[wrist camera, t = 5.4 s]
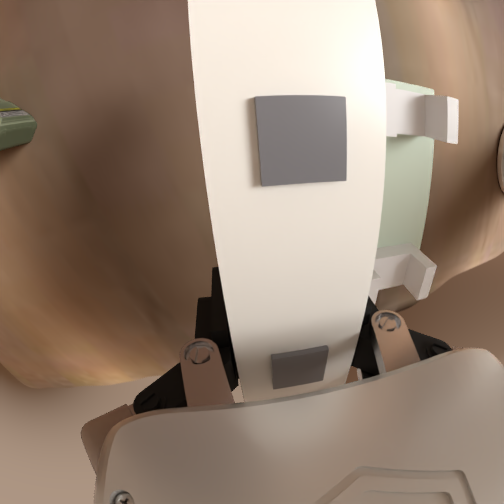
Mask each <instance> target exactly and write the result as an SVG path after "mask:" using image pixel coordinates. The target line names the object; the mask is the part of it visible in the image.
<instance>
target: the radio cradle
mask: <svg viewBox="0 0 504 504" xmlns="http://www.w3.org/2000/svg"><path fill="white" fill-rule="evenodd" d="M385 89H386V162H385V179H384V192H383V203H382V213H381V222H380V230H379V237H378V244H377V251H376V257H375V263H374V269H373V275H372V280H371V285H370V290H369V297H370V298H371V300H372V301H373V303H374V304H375V303H376V299H377V294H378V290H381V289H386V288H390V287H395V286H399V285H404V286H405V287H406V288H407V289H408V291H409V292H410V293H411V294H412V295H413V296H414V297H415V299H416V300H421V299H424V298H427V297H428V294H429V291H430V288H431V284H432V281H433V278H434V275H435V271H436V268H437V265H436V264H435V263H434V262H432V261H431V260H430V259H429V258H428V257H427V256H426V255H424V254H423V253H422V252H421V251H420V246H421V241H422V236H423V231H424V226H425V220H426V214H427V208H428V201H429V194H430V185H431V176H432V166H433V152H434V139H436V140H440V141H443V142H447V143H453V144H458V99H455V98H451V97H448V96H438V95H434V90H433V89H429V88H425V87H421V86H417V85H412V84H408V83H403V82H398V81H393V80H388V79H385Z"/></svg>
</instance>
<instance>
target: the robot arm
mask: <svg viewBox="0 0 504 504" xmlns="http://www.w3.org/2000/svg"><path fill="white" fill-rule="evenodd" d="M497 170H498V179H499V183H500V187H501V189H502V191H503V193H504V130H503V132H502V135H501V139H500V143H499V148H498V158H497ZM351 366H354V367H356V368H357V373H358V379H359V381H355V382H352V383H348V384H344V385H340V386H336V387H331V388H327V389H322V390H318V391H313V392H308V393H303V394H297V395H292V396H286V397H280V398H273V399H266V400H259V401H251V402H243V403H235V402H234V399H233V396H232V393H231V392H232V391H233V390H234V389H235V388H236V387H237V386H238V379H239V374H238V369H237V364H236V359H235V354H234V349H233V344H232V339H231V334H230V328H229V323H228V318H227V312H226V307H225V301H224V296H223V290H222V284H221V278H220V272H219V267H214V268H212V294H211V297H204V298H199V299H198V305H197V317H196V329H195V339H194V340H191V341H189V342H187V343H186V344H185V345H184V346H183V347H182V348H181V350H180V363H178V364H177V365H176V366H174V367H173V368H172V369H170V370H169V371H168V372H167V373H165V374H164V375H163V376H161V377H160V378H159V379H157V380H156V381H155V382H153V383H152V384H151V385H150V386H148V387H147V388H145V389H144V390H143V391H142V392H140V393H139V394H138V395H137V396H136V398H135V400H134V403H133V404H131V405H129V406H128V405H127V404H125V405H123V406H121V407H119V408H117V409H114V410H113V411H110V412H108V413H106V414H104V415H102V416H99V417H97V418H95V419H93V420H91V421H89V422H87V423H86V424H85V425H84V426H83V427H82V430H81V438H82V441H83V444H84V447H85V449H86V452H87V454H88V457H89V460H90V462H91V464H92V467H93V469H94V471H95V473H96V483H95V491H94V504H504V366H503V365H502V364H501V363H500V361H499V360H498V359H497V358H496V357H495V356H494V355H493V354H492V353H490V352H489V351H487V350H485V349H481V348H460V347H454V346H453V348H452V349H451V348H450V347H449V346H448V345H447V344H446V343H445V342H443V341H441V340H439V339H436V338H433V337H430V336H427V335H424V334H421V333H418V332H415V331H412V330H410V329H408V328H407V326H406V324H405V321H404V320H403V318H402V316H400V315H399V314H398V313H396V312H394V311H391V310H380V311H379V310H378V309H377V307H376V306H375V304H374V303H373V301H372V300H371V298H370V297H369V295H368V300H367V304H366V309H365V313H364V318H363V322H362V326H361V330H360V334H359V338H358V342H357V345H356V349H355V353H354V356H353V360H352V363H351Z"/></svg>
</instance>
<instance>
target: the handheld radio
mask: <svg viewBox="0 0 504 504" xmlns="http://www.w3.org/2000/svg"><path fill="white" fill-rule="evenodd" d="M36 127H37V123H36V121H35V120H34V118H33V117H32V116H31V115H30V114H28V113H27V112H25V111H24V110H22V109H20V108H19V107H17V106H16V105H14V104H13V103H11V102H6V101H4V100H3V99H1V98H0V151H1V150H4V149H7V148H11V147H15V146H18V145H22V144H26V143H29V142H30V141H31V140H32V137H33V135H34V132H35V130H36Z"/></svg>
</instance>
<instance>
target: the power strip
mask: <svg viewBox="0 0 504 504" xmlns="http://www.w3.org/2000/svg"><path fill="white" fill-rule="evenodd" d="M188 11H189V26H190V40H191V53H192V65H193V76H194V86H195V96H196V106H197V115H198V124H199V133H200V141H201V149H202V157H203V165H204V173H205V180H206V187H207V195H208V202H209V209H210V215H211V222H212V229H213V235H214V242H215V248H216V254H217V260H218V266H219V272H220V278H221V284H222V290H223V296H224V301H225V307H226V312H227V318H228V323H229V328H230V334H231V339H232V344H233V349H234V354H235V359H236V364H237V369H238V374H239V379H240V383H241V388H242V393H243V398H244V402H251V401H259V400H266V399H273V398H280V397H286V396H292V395H297V394H303V393H308V392H313V391H318V390H322V389H327V388H331V387H336V386H340V385H344V384H345V382H346V379H347V376H348V373H349V370H350V366H351V363H352V360H353V356H354V353H355V349H356V345H357V342H358V338H359V334H360V330H361V326H362V322H363V318H364V313H365V309H366V304H367V300H368V295H369V290H370V285H371V280H372V275H373V269H374V263H375V257H376V251H377V244H378V237H379V230H380V222H381V213H382V203H383V192H384V179H385V162H386V89H385V73H384V61H383V51H382V42H381V34H380V27H379V21H378V15H377V9H376V4H375V0H188Z"/></svg>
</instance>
